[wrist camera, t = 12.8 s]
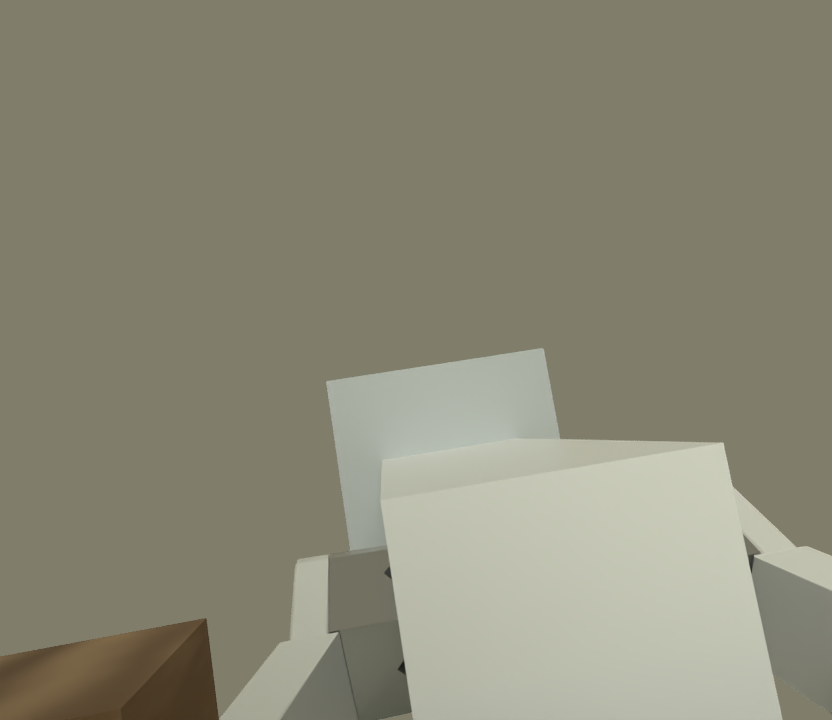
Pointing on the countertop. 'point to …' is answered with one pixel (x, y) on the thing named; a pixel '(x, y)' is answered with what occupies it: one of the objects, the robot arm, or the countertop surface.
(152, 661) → the walnut block
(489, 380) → the white long block
